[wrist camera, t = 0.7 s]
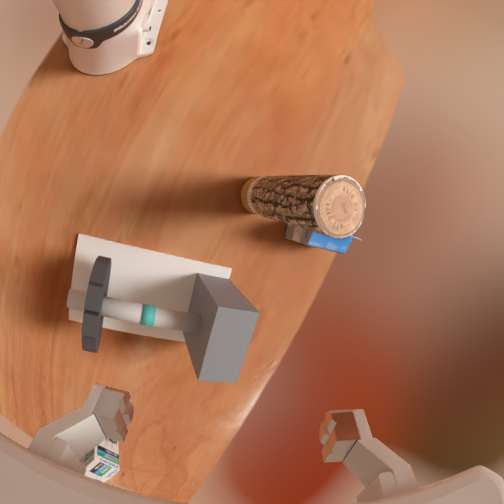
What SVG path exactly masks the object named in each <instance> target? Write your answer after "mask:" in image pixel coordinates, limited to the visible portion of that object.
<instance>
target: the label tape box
mask: <svg viewBox="0 0 504 504" xmlns="http://www.w3.org/2000/svg"><path fill="white" fill-rule="evenodd" d="M353 238H357V237H355V236H353V235H350V236H348V237H345V238H334V237H330V236H327V235H324V234H320V233H317V232H314V231H311V230H307V229H304V228H301V227H297V226H294V225H291V224H288V225H287V230H286V234H285V239H289V240H293V241H296V242H299V243H302V244H305V245H309V246H313V247H317V248H321V249H326V250H330V251H334V252H339V253H345V251H346V250H347V248H348V246H349V245H350V243H351V241H352V240H353ZM357 239H359V238H357ZM361 241H362V240H361Z"/></svg>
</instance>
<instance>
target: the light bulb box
mask: <svg viewBox="0 0 504 504" xmlns="http://www.w3.org/2000/svg"><path fill="white" fill-rule="evenodd" d="M79 460H80V462H81V463H82V464H83V465H84V467H85V468H86V472H85V475H84V476H87V477H90V478H92V479H95V480H98V481H100V482H103V483H104V482H105V481H107V480H108V479H109V478H110V477H112V476H113V475H114V474H116V473H117V472H118V471H120V469H119V452H118V441H116V440H113V439H109V438H106V439H105V440H104V441H103V442H101V443H100V444H99V445H97V446H96V447H95V448H94V449H92V450H91V451H90V452H88V453H87V454H86V455H84V456H83V457H82V458H80V459H79Z"/></svg>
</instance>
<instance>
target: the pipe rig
mask: <svg viewBox="0 0 504 504" xmlns="http://www.w3.org/2000/svg"><path fill="white" fill-rule="evenodd" d="M98 255H99V256H103V257H108V258H111V272H110V279H109V286H108V293H107V297H106V296H104V298H103V303H102V310H101V316H104V319H103V325H102V328H107V329H112V330H117V331H122V332H127V333H132V334H138V335H143V336H149V337H155V338H161V339H168V340H174V341H181V342H186V345H187V348H188V351H189V354H190V357H191V360H192V363H193V367H194V370H195V373H196V375H197V378H198V381H211V382H228V383H237V380H238V377H239V374H240V371H241V368H242V365H243V362H244V359H245V356H246V353H247V350H248V347H249V344H250V341H251V338H252V335H253V332H254V329H255V326H256V323H257V320H258V317H259V312H258V310H257V309H256V308H255V307H254V306H253V305H252V304H251V303H250V302H249V301H248V300H247V298H246V297H245V296H244V295H243V294H242V293H241V292H240V291H239V290H238V289H237V288H236V286H235V285H234V284H233V283H232V282H231V281H230V280H229V277H230V274H231V270H232V268H230V267H225V266H221V265H216V264H211V263H207V262H202V261H198V260H193V259H189V258H184V257H180V256H175V255H171V254H166V253H162V252H158V251H153V250H149V249H144V248H140V247H136V246H131V245H127V244H123V243H119V242H114V241H110V240H106V239H102V238H98V237H93V236H89V235H85V234H81V233H79V235H78V241H77V246H76V253H75V259H74V267H73V275H72V283H71V288H70V290H69V293H68V297H67V308H69V319H68V320H72V321H76V322H80V323H82V322H83V313H84V305H85V299H86V293H87V288H88V284H89V279H90V276H91V272H92V269H93V265H94V263H95V260H96V259H97V257H98Z"/></svg>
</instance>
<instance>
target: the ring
mask: <svg viewBox="0 0 504 504" xmlns="http://www.w3.org/2000/svg"><path fill="white" fill-rule="evenodd" d="M110 272H111V258H108V257H103V256H99V255H98V257H97V259H96V260H95V263H94V265H93V269H92V272H91V276H90V279H89V284H88V288H87V293H86V299H85V305H84V313H83V322H82V348H83V350H85V351H90V352H94V353H97V352H98V348H99V343H100V338H101V331H102V325H103V319H104V316H101V310H102V303H103V298H104V296H106V297H107V293H108V286H109V279H110Z"/></svg>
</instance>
